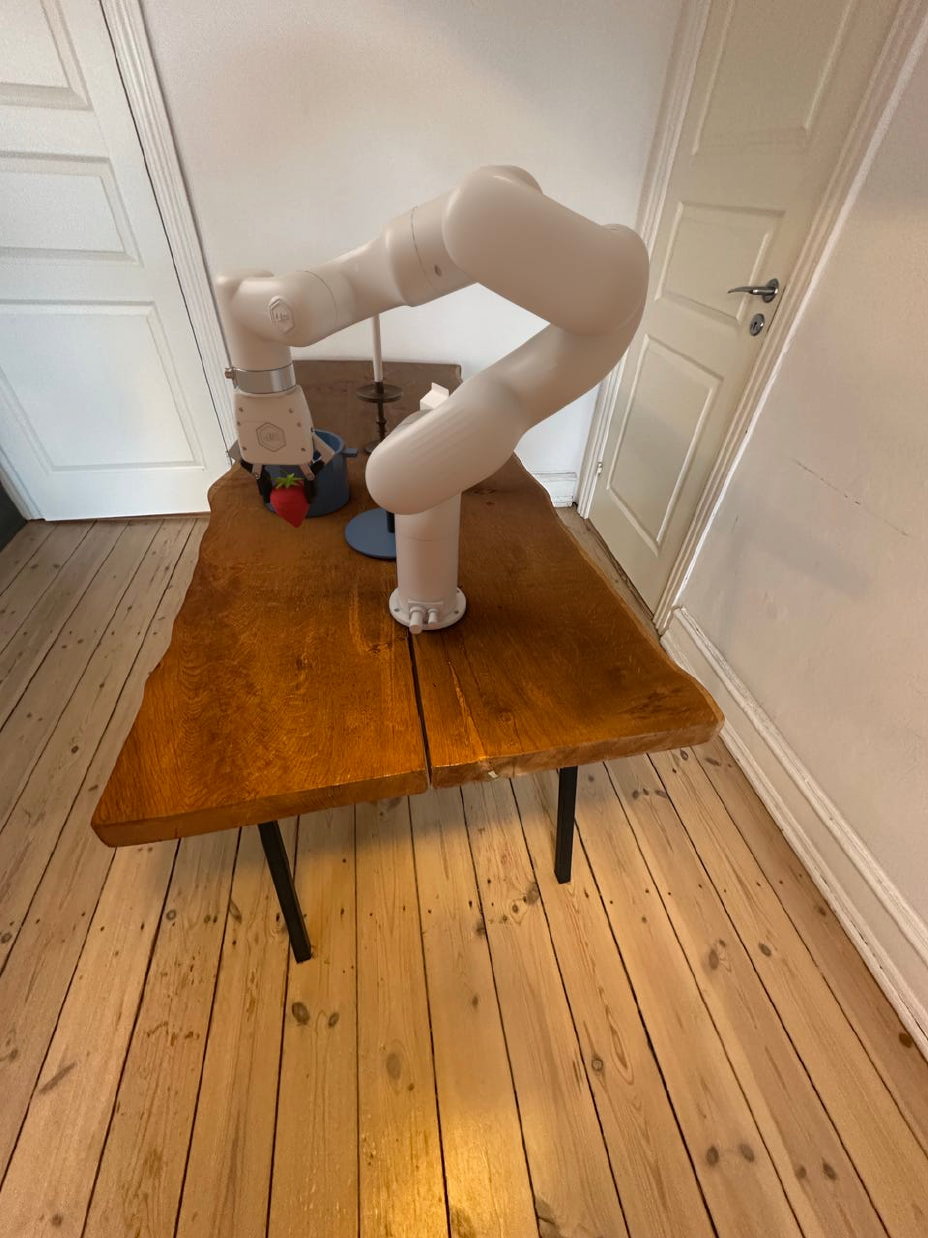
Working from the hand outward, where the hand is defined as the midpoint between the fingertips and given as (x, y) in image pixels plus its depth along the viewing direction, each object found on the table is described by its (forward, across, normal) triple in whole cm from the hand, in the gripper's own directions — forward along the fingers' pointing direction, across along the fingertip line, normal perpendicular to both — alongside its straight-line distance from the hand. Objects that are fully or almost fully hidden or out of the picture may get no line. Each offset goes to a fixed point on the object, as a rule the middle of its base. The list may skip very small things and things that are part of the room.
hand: (290, 498), depth 85 cm
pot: (+15, -7, +30) cm, 35 cm away
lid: (+15, +13, +16) cm, 26 cm away
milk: (+16, +21, +37) cm, 46 cm away
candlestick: (+16, +6, +56) cm, 59 cm away
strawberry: (+5, 0, 0) cm, 5 cm away
